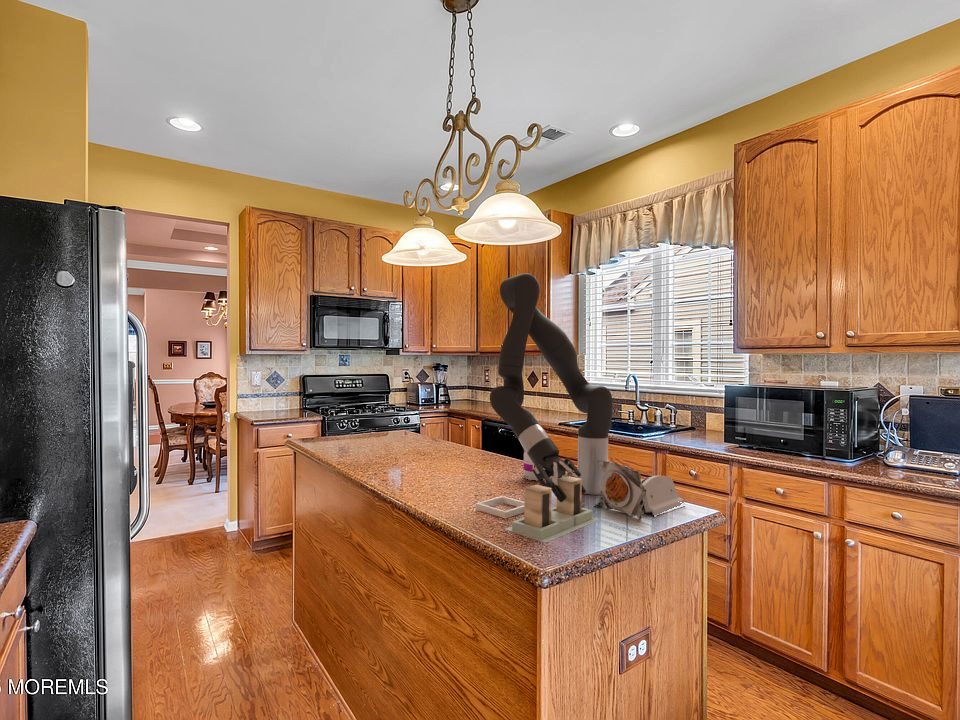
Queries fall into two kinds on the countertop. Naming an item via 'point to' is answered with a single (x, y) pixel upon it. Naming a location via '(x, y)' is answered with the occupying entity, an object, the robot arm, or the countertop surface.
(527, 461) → the supplement can
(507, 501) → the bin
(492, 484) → the countertop surface
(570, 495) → the block
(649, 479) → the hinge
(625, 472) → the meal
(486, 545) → the countertop surface
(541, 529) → the green slotted tray
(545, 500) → the block
